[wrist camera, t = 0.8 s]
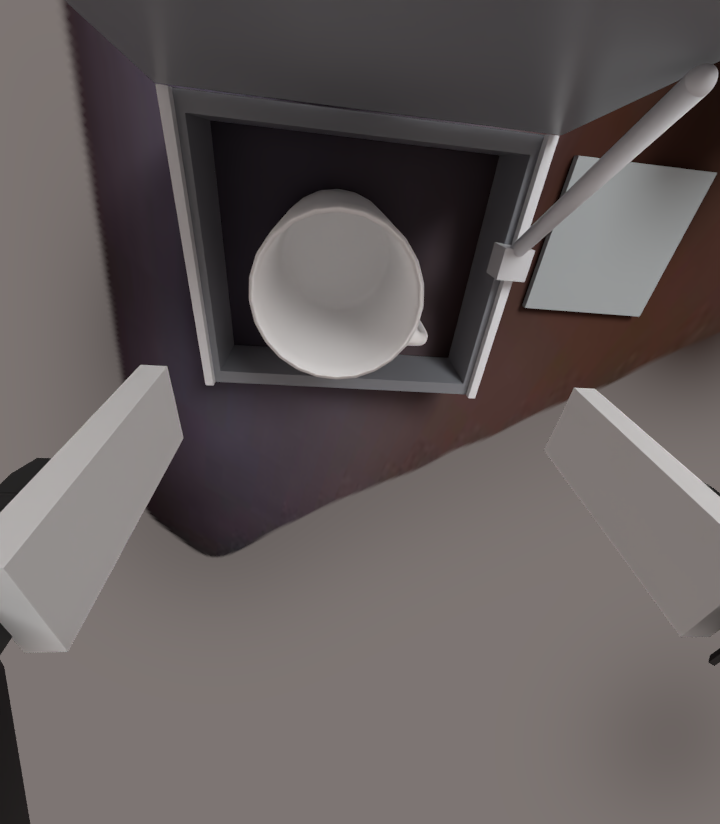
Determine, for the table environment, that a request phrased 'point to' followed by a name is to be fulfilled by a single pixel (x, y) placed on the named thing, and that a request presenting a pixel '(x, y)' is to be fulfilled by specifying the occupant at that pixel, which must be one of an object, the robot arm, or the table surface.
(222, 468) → the table surface
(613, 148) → the case
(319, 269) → the mug
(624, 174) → the pad
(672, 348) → the table surface
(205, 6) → the lid
